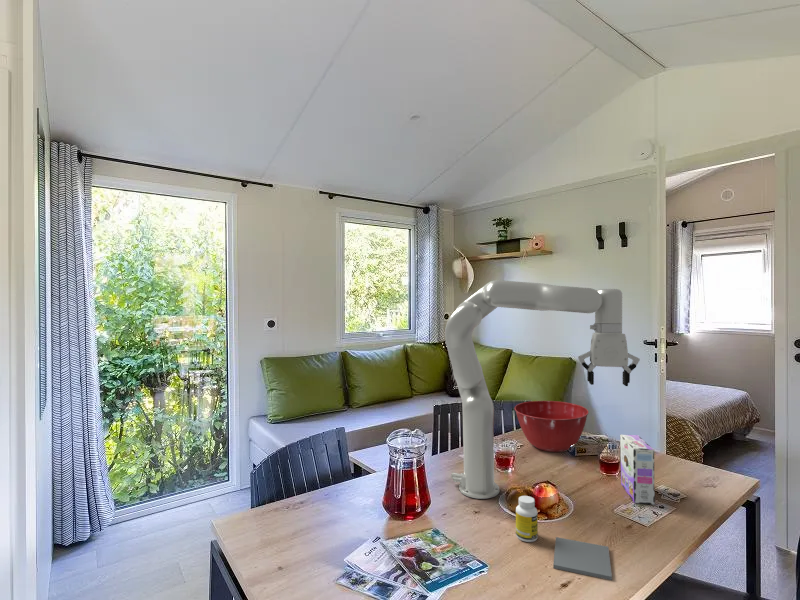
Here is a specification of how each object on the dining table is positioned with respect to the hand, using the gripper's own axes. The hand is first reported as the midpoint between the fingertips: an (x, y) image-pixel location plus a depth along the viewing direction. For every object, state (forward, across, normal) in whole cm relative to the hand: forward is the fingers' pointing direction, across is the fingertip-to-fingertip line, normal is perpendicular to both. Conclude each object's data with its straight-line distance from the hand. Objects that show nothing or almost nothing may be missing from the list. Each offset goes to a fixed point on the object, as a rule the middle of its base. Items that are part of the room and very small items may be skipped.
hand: (608, 384), depth 134 cm
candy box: (+34, +9, +2) cm, 35 cm away
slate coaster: (+34, -14, -36) cm, 52 cm away
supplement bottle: (+35, -26, -29) cm, 52 cm away
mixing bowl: (+34, -12, +41) cm, 55 cm away
